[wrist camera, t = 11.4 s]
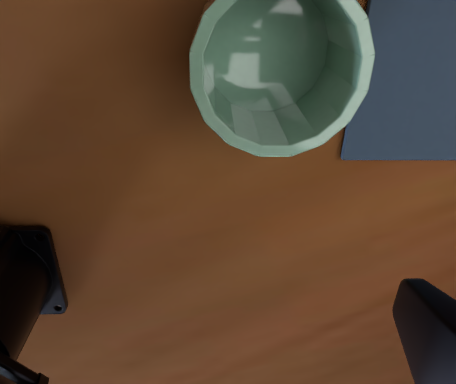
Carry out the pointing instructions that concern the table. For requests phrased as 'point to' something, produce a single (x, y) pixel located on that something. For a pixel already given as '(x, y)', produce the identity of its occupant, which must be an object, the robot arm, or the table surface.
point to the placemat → (408, 84)
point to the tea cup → (280, 71)
